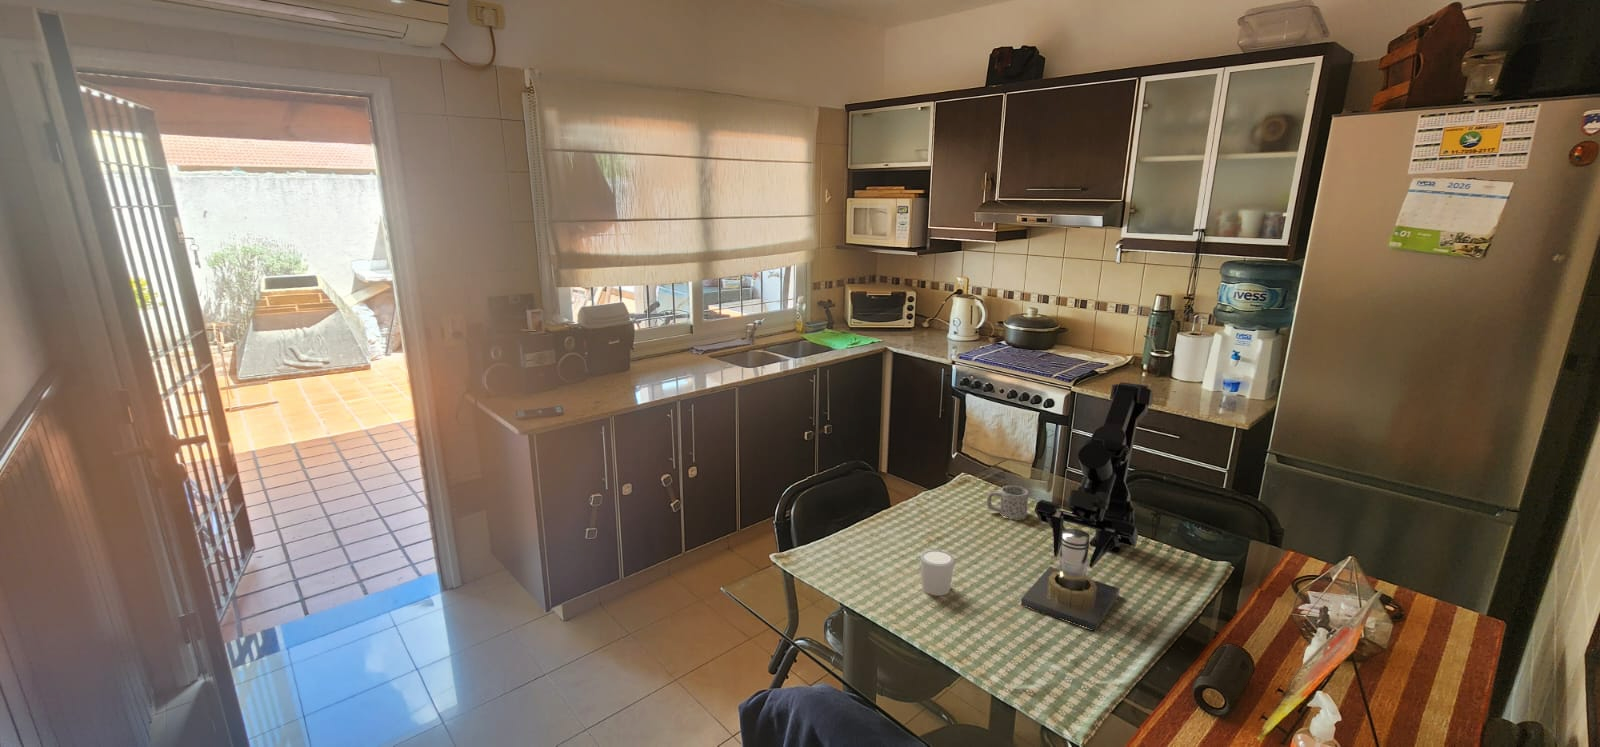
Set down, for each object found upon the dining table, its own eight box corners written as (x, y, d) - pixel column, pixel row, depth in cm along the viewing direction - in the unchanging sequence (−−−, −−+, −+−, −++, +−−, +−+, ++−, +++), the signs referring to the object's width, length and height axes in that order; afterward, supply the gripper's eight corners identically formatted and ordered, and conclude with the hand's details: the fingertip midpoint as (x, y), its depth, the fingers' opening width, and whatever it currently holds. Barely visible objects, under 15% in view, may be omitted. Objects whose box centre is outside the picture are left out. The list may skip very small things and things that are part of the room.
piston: (1055, 585, 136) (1059, 527, 134) (1081, 587, 136) (1086, 529, 133) (1060, 598, 132) (1064, 538, 129) (1087, 600, 131) (1092, 540, 128)
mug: (1025, 510, 175) (1027, 486, 174) (1027, 521, 169) (1029, 496, 168) (985, 507, 178) (987, 483, 176) (986, 517, 171) (988, 493, 170)
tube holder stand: (1049, 572, 144) (1050, 555, 143) (1118, 595, 136) (1121, 577, 135) (1021, 605, 132) (1022, 586, 131) (1095, 631, 123) (1097, 612, 123)
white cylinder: (933, 600, 134) (934, 568, 132) (912, 584, 140) (913, 553, 138) (959, 592, 137) (961, 560, 135) (938, 576, 143) (939, 546, 141)
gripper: (1041, 462, 137) (1016, 531, 131) (1141, 484, 125) (1119, 561, 119) (1051, 486, 145) (1028, 552, 139) (1146, 509, 133) (1125, 582, 127)
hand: (1072, 561), depth 131 cm, fingers open, 6 cm apart
